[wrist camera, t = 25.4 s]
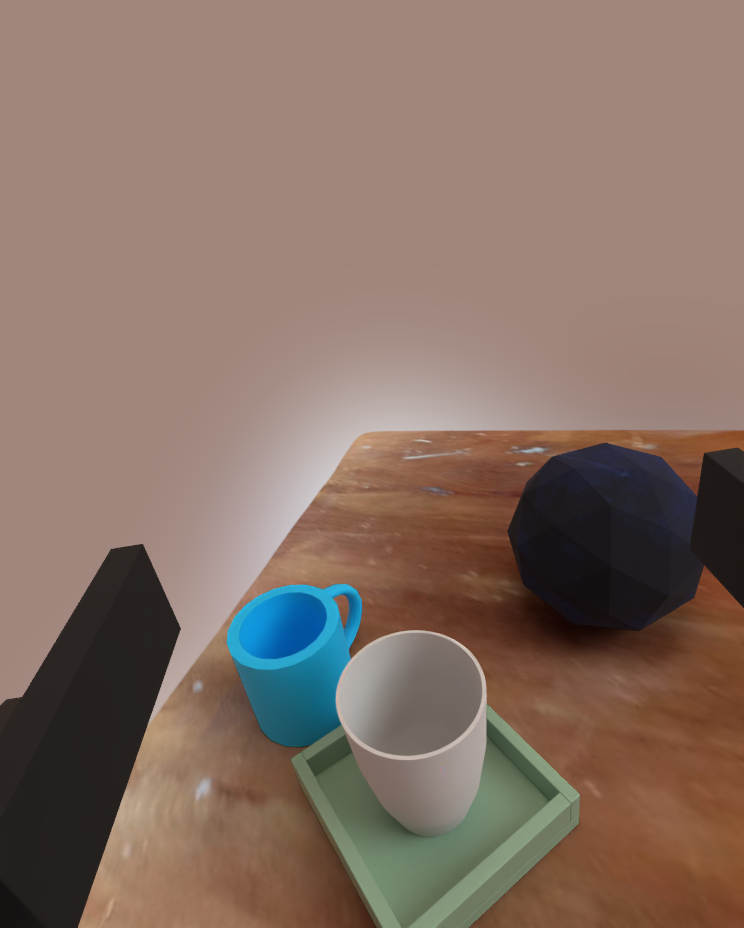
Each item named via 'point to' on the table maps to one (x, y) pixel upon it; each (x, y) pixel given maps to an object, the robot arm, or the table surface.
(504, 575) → the table surface
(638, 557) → the decorative orb
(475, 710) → the cup
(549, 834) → the tray
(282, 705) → the mug
